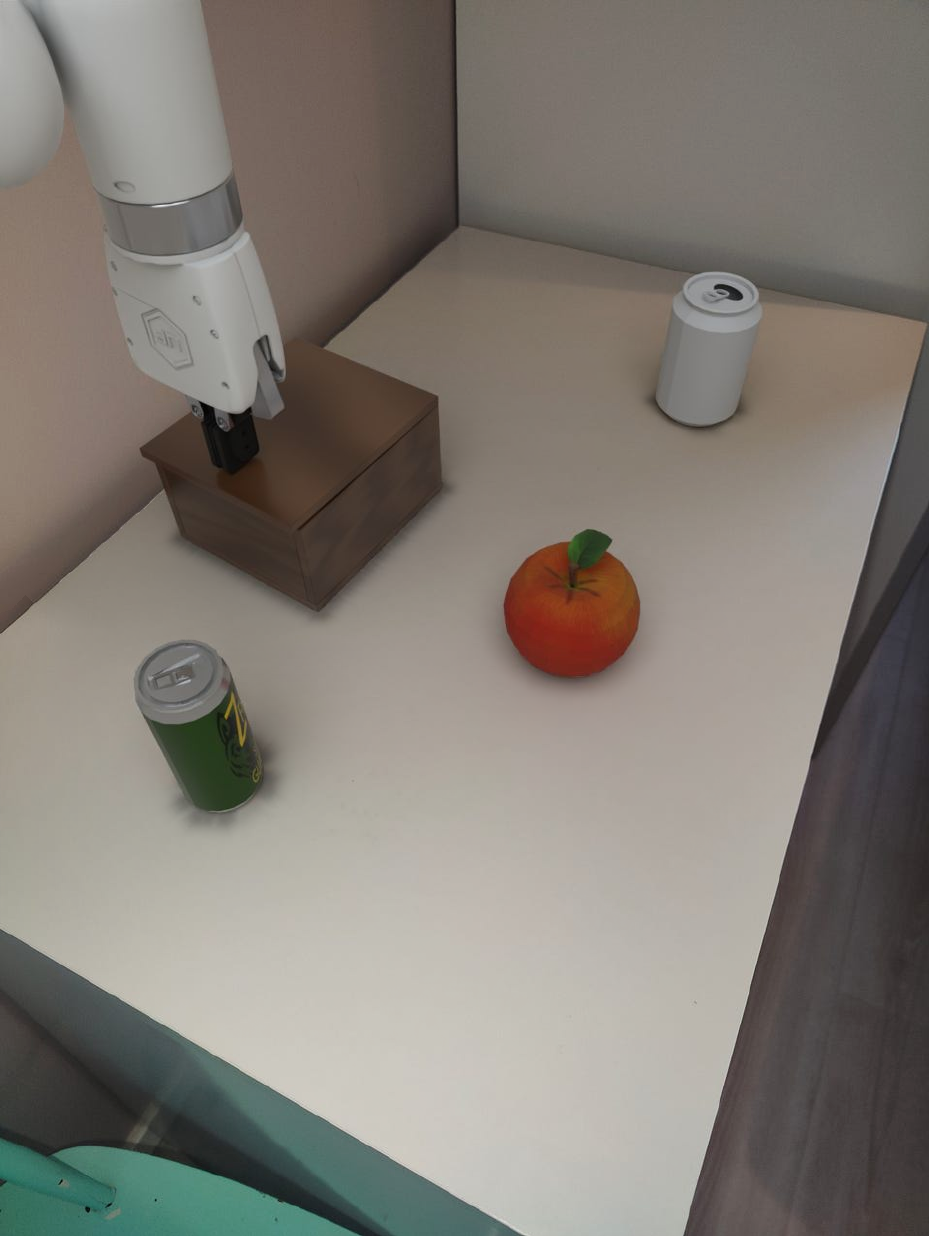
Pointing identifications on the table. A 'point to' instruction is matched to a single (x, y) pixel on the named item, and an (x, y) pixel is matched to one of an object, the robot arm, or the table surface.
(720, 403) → the can
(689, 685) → the table surface
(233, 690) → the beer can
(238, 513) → the chest
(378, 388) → the chest lid
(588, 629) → the fruit
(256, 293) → the robot arm
